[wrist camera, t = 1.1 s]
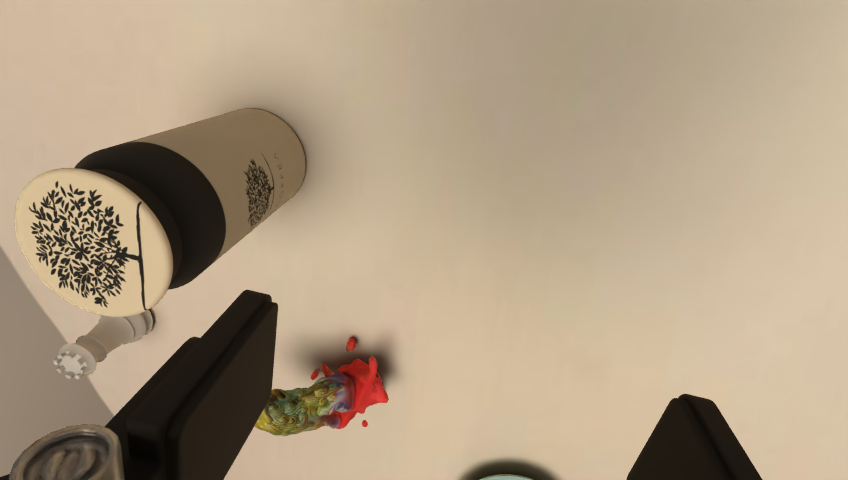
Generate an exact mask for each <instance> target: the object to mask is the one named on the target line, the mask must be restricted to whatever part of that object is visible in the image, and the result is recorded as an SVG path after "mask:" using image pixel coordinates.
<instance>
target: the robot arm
mask: <svg viewBox="0 0 848 480" xmlns="http://www.w3.org/2000/svg"><path fill="white" fill-rule="evenodd" d="M277 314H278V305H277V303H274V302H272V299H271V296H270V295H267V294H263V293H259V292H255V291H251V290H245V291H243V292H242V293H241V294H240V296H239V297H238V298H237V299H236V300H235V301H234V302H233V303H232V304H231V305H230V306H229V308H228V309H227V310H226V311H225V312H224V313H223V314H222V315H221V316H220V317H219V318H218V320H217V321H216V322H215V323H214V324H213V325H212V326H211V327H210V328H209V329H208V331H207V332H206V333H205V334H204V335H203V336H202V337H201V338H198V337H192V338H190V339H189V340H187V341H186V342H185V343H184V344H183V345H182V346H181V347H180V348H179V349H178V350H177V351H176V352H175V353H174V354H173V355H172V357H171V358H170V359H169V360H168V361H167V362H166V363H165V364H164V365H163V366H162V367H161V368H160V369H159V370H158V371H157V372H156V373H155V374H154V375H153V376H152V378H151V379H150V380H149V381H148V382H147V383H146V384H145V385H144V386H143V387H142V388H141V389H140V390H139V391H138V392H137V393H136V394H135V395H134V396H133V397H132V399H131V400H130V401H129V402H128V403H127V404H126V405H125V406H124V407H123V408H122V409H121V410H120V411H119V412H118V413H117V414H116V415H115V416H114V417H113V418H112V420H111V421H110V422H109V423H108V424H107V425H106V426H105V427H103V426H99V425H88V424H82V425H76V426H70V427H66V428H63V429H60V430H57V431H54V432H52V433H50V434H48V435H46V436H44V437H42V438H41V439H39V440H37V441H35V442H34V443H33V444H32V445H31V446H29V447H28V448H27V449H26V450H24V451H23V452H22V454H21V455H20V456H19V458H18V459H17V460H16V461H15V463H14V464H13V467H12V469H11V472H10V474H8V475H5V476H2V477H0V480H223V479H224V478H225V476H226V474H227V472H228V471H229V469H230V467H231V465H232V464H233V462H234V460H235V459H236V457H237V455H238V453H239V452H240V450H241V448H242V446H243V445H244V443H245V441H246V439H247V438H248V436H249V434H250V433H251V431H252V429H253V427H254V426H255V424H256V422H257V420H258V419H259V417H260V415H261V413H262V412H263V410H264V408H265V407H266V405H267V403H268V400H269V397H270V394H271V389H272V378H273V365H274V352H275V340H276V327H277ZM627 480H762V478H761V477H760V475H759V474H758V472H757V470H756V469H755V467H754V465H753V464H752V462H751V461H750V459H749V457H748V456H747V454H746V453H745V451H744V449H743V448H742V446H741V445H740V443H739V441H738V440H737V438H736V437H735V435H734V433H733V432H732V430H731V428H730V427H729V425H728V424H727V422H726V420H725V419H724V417H723V416H722V414H721V412H720V411H719V409H718V408H717V406H716V404H715V403H714V402H713V401H711V400H709V399H705V398H701V397H697V396H693V395H688V394H682V395H681V396H679V398H674V399H672V400H671V401H670V403H669V404H668V406H667V408H666V410H665V411H664V413H663V415H662V417H661V418H660V420H659V422H658V424H657V425H656V427H655V429H654V431H653V432H652V434H651V436H650V438H649V439H648V441H647V443H646V445H645V446H644V448H643V450H642V451H641V453H640V455H639V457H638V458H637V460H636V462H635V464H634V465H633V467H632V469H631V471H630V472H629V474H628V477H627Z"/></svg>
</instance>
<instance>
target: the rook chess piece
mask: <svg viewBox="0 0 848 480" xmlns="http://www.w3.org/2000/svg"><path fill="white" fill-rule="evenodd" d="M152 324H153V318H152V315H151V312H150V310H149V309H148V310H146V311H144V312H142V313H139V314H136V315H131V316H124V317H112V316H104V315H101V318H100V319H99V323H98V324H97V325H96V326H95V327H94V328H93V329H92V330H91V331H90V332H89V333H88V334H87V335H85V336H81V337H79V338H78V339H77V340H76V343H75V344H66V345H64V346H62V347H61V349H60V350H59V355H58V356H57V358H56V359H54V364H55V365H58V364H59V363H60V366H59V367H58V368H57V371H58V372H59V373H61V372H63V371H64V370H65V371H67V372H68V374H66V376H65V377H67V378H69V379H71V378H73V377H74V376H75V375H76V376H75V378H76V379H78V378H80V377H82V376H84V375H89V374H92V373H93V372H94V371H95V370H96V364H97V362H101V361H103V360H104V359H105V358H106V355H107V354H108V353H109V352H110V351H112V350H114V349H115V348H117V347H118V346H120V345H122V344H127V343H132V342H134V341H137V340H139V339H141V338H142V337H143V336H144V335H146V334H148V333H149V332H150V330H151V329H152Z"/></svg>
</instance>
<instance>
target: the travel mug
mask: <svg viewBox="0 0 848 480" xmlns="http://www.w3.org/2000/svg"><path fill="white" fill-rule="evenodd" d="M305 168H306V165H305V156H304V152H303V148H302V146H301V143H300V141H299V139H298V138H297V136H296V135H295V133H294V132H293V130H292V129H291V128H290V127H289V126H288V125H287V124H286V123H285V122H284V121H282V120H281V119H280V118H278V117H277V116H275V115H273V114H271V113H269V112H266V111H263V110H259V109H240V110H236V111H233V112H230V113H226V114H223V115H219V116H216V117H212V118H209V119H205V120H202V121H199V122H195V123H192V124H188V125H185V126H181V127H178V128H174V129H171V130H168V131H164V132H161V133H157V134H154V135H150V136H147V137H144V138H140V139H137V140H133V141H130V142H126V143H123V144H119V145H116V146H113V147H109V148H106V149H102V150H99V151H96V152H94V153H92V154H90V155H88V156H86V157H85V158H83V159H82V160H81V161H80V162H79V163H78V164H77V165H76V166H75V168H62V169H55V170H51V171H48V172H45V173H43V174H41V175H39V176H37V177H36V178H34V179H33V180H32V181H30V182H29V183H28V184H27V186H26V187H25V188H24V189H23V191H22V192H21V194H20V196H19V198H18V201H17V204H16V208H15V217H14V219H15V231H16V235H17V239H18V242H19V245H20V248H21V250H22V252H23V254H24V256H25V258H26V260H27V262H28V263H29V265H30V266H31V268H32V269H33V270H34V272H35V273H36V274H37V275H38V277H39V278H40V279H41V280H42V281H43V282H44V283H45V284H46V285H47V286H48V287H49V288H50V289H51V290H52V291H54V292H55V293H56V294H57V295H59V296H60V297H62V298H63V299H65V300H66V301H68V302H69V303H71V304H73V305H75V306H77V307H79V308H81V309H84V310H86V311H89V312H92V313H95V314H99V315H104V316H112V317H124V316H131V315H136V314H139V313H142V312H144V311H146V310H148V309H150V308H152V307H153V306H154V305H156V304H157V303H158V302H159V301H160V300H161V299H162V297H163V296H164V295H165V293H166V291H167V290H168V289H174V288H178V287H180V286H183V285H185V284H187V283H189V282H190V281H192V280H193V279H195V278H196V277H197V276H198V275H199V274H201V273H202V272H203V271H204V270H205V269H207V268H208V267H209V266H210V265H211V264H212V263H214V262H215V261H216V260H217V259H218V258H220V257H221V256H222V255H223V254H224V253H226V252H227V251H228V250H229V249H230V248H232V247H233V246H234V245H235V244H236V243H238V242H239V241H240V240H241V239H242V238H244V237H245V236H246V235H247V234H248V233H250V232H251V231H252V230H253V229H254V228H255V227H257V226H258V225H259V224H260V223H261V222H263V221H264V220H265V219H266V218H267V217H269V216H270V215H271V214H272V213H273V212H275V211H276V210H277V209H278V208H279V207H281V206H282V205H283V204H284V203H285V202H287V201H288V200H289V199H290V198H291V197H292V196H294V195H295V193H296V192H297V191H298V190H299V188H300V186H301V184H302V182H303V179H304V175H305Z"/></svg>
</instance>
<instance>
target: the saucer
mask: <svg viewBox="0 0 848 480" xmlns="http://www.w3.org/2000/svg"><path fill="white" fill-rule="evenodd" d="M480 480H533V479H530V478H527V477H524V476H519V475H513V474H498V475H492V476H488V477H485V478H482V479H480Z"/></svg>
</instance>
